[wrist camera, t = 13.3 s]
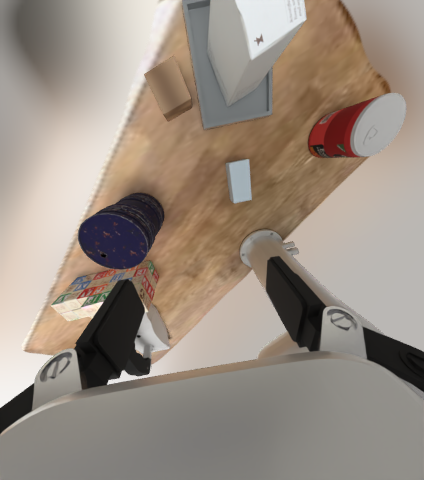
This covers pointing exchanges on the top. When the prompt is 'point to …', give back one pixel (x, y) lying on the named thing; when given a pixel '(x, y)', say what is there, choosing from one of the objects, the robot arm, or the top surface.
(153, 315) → the iron
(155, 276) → the stack of blocks
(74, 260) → the top surface
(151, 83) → the walnut block
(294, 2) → the skincare box
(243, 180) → the blue-grey painted block
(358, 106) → the canned food
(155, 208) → the storage jar
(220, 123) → the slate tray
